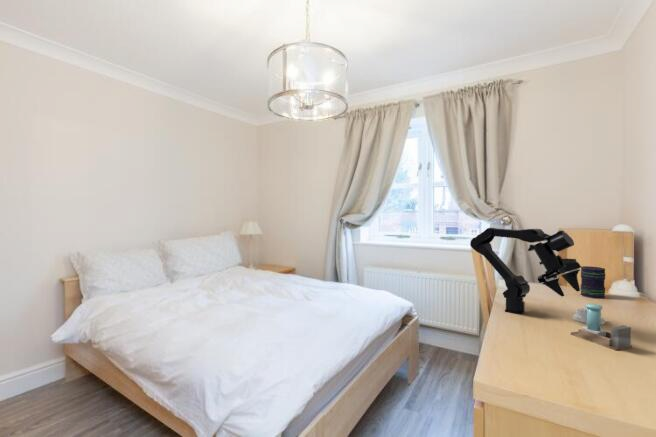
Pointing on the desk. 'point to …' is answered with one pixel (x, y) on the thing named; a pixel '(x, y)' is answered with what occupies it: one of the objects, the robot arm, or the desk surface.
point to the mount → (609, 337)
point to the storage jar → (592, 282)
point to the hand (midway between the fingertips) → (570, 293)
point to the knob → (594, 320)
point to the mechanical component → (583, 315)
